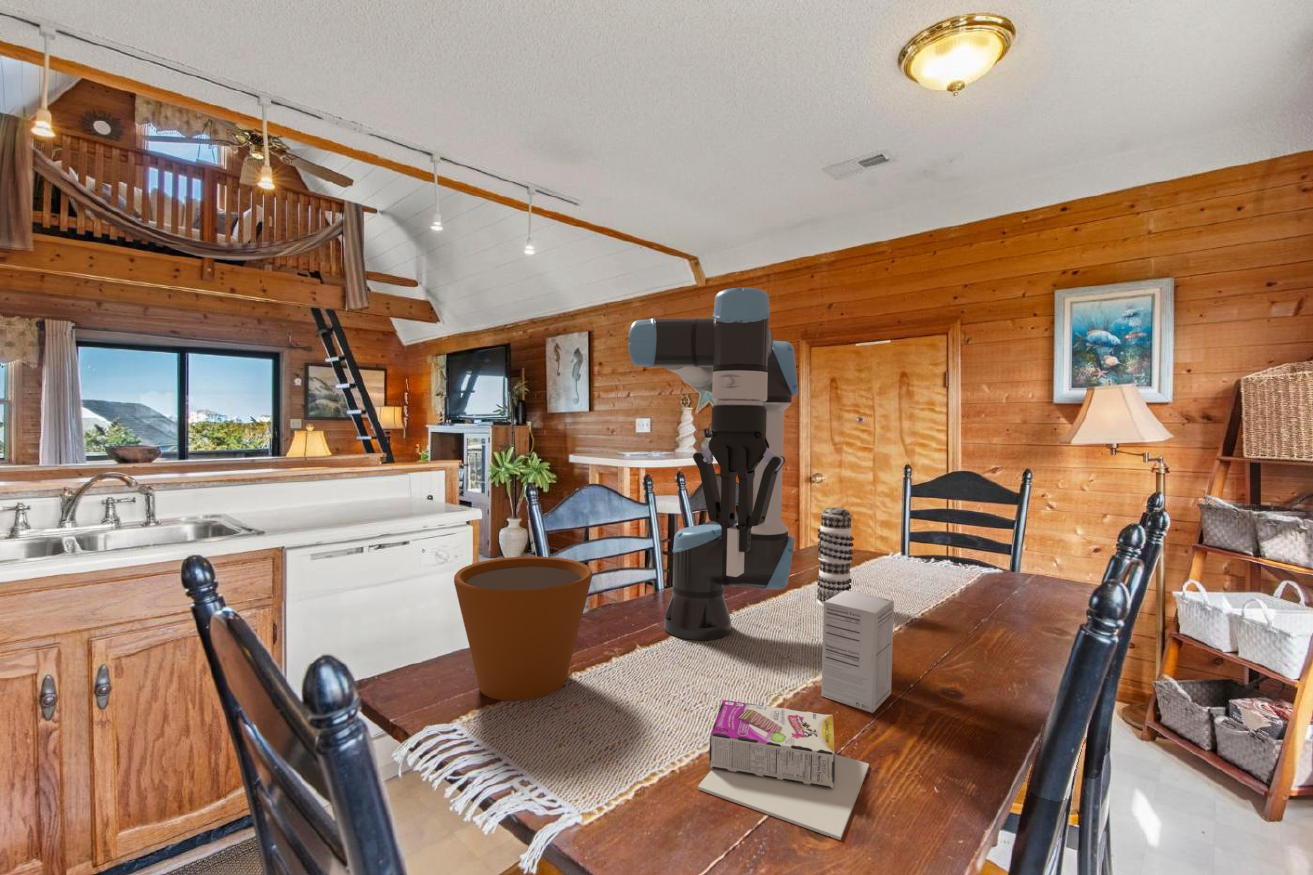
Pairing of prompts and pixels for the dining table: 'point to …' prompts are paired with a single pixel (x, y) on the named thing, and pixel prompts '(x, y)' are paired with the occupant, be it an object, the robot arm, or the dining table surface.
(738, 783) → the mat
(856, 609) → the supplement box
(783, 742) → the candy bar box
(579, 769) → the dining table surface
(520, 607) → the flower pot
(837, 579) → the decorative candle
